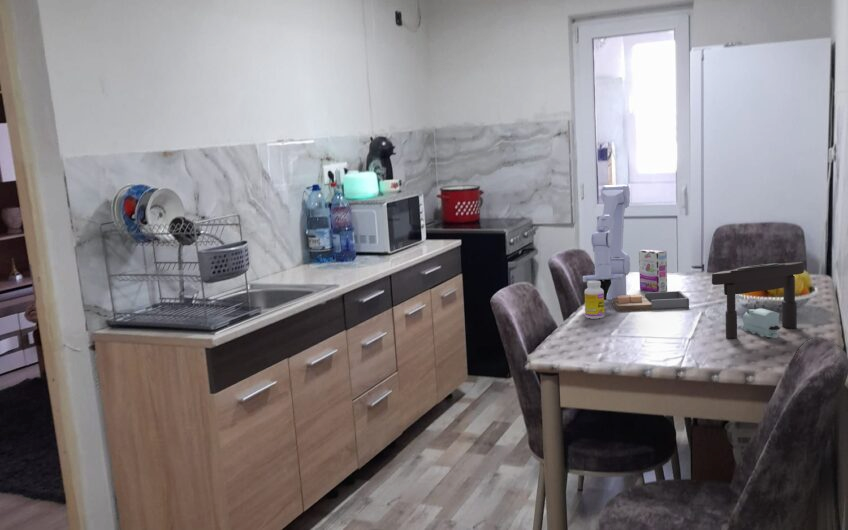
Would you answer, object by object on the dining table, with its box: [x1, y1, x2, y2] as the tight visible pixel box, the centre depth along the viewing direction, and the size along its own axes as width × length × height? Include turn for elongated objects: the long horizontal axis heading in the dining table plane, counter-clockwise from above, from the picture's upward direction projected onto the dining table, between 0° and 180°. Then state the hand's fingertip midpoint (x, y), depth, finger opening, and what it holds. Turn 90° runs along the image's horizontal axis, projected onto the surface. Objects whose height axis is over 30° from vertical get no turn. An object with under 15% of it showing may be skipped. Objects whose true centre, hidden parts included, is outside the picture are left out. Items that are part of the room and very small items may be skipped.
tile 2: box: [628, 294, 643, 302], centre depth 285 cm, size 4×4×2 cm
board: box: [611, 296, 653, 312], centre depth 285 cm, size 14×12×2 cm
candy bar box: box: [638, 248, 668, 293], centre depth 309 cm, size 11×5×16 cm, turn 25°
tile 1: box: [617, 294, 630, 303], centre depth 285 cm, size 4×4×2 cm
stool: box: [711, 261, 805, 340], centre depth 237 cm, size 16×21×33 cm
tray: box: [644, 290, 690, 311], centre depth 284 cm, size 14×13×4 cm
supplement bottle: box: [584, 280, 605, 320], centre depth 272 cm, size 7×7×13 cm
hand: (603, 299), depth 286 cm, fingers closed
